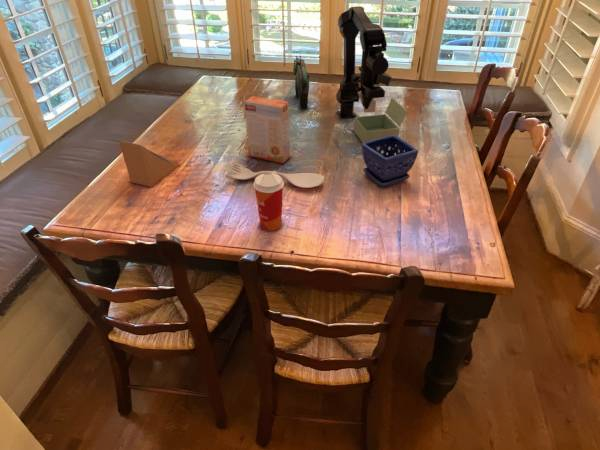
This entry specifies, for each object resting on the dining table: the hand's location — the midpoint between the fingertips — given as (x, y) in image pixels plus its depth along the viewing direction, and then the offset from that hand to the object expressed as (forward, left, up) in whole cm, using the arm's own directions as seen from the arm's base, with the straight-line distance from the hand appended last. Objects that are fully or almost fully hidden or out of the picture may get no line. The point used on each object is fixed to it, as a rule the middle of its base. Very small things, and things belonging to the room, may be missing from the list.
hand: (365, 107), depth 163 cm
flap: (+1, +12, -2) cm, 12 cm away
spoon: (+24, -39, -12) cm, 48 cm away
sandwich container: (+9, -78, -12) cm, 80 cm away
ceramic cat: (-41, -14, -12) cm, 45 cm away
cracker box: (+7, -38, -12) cm, 41 cm away
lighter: (0, 0, -2) cm, 2 cm away
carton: (+1, +5, -12) cm, 13 cm away
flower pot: (+31, -3, -12) cm, 34 cm away
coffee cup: (+47, -45, -12) cm, 67 cm away
